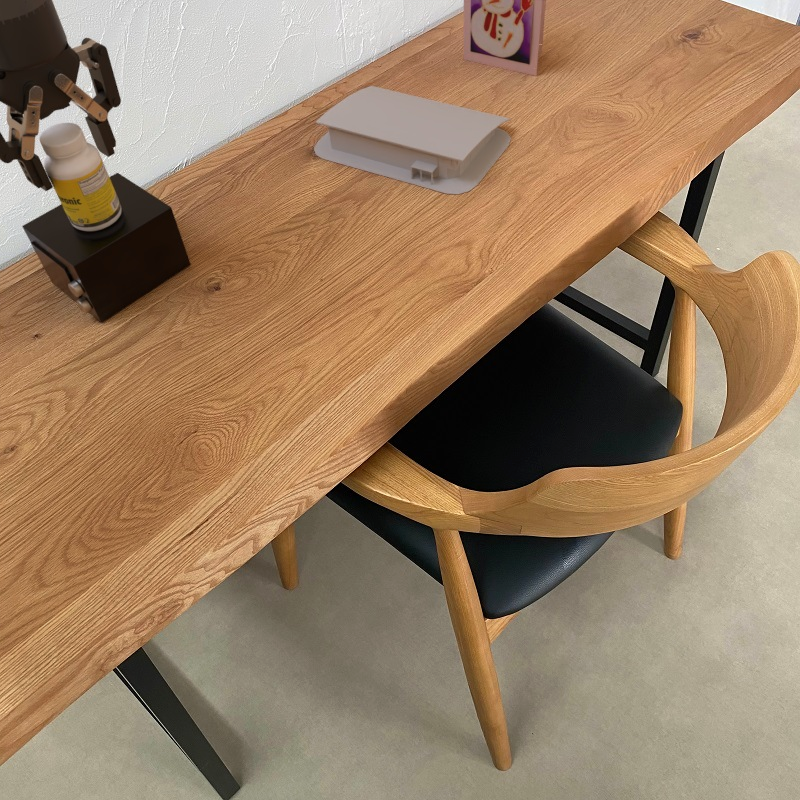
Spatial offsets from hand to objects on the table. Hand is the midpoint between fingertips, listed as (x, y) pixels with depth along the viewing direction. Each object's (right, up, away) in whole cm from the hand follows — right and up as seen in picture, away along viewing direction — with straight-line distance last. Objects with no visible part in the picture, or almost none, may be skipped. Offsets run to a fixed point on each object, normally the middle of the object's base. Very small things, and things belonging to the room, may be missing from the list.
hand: (76, 169), depth 79 cm
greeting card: (+48, +26, +36) cm, 65 cm away
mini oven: (+1, -9, +11) cm, 14 cm away
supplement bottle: (0, -4, +5) cm, 6 cm away
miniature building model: (+34, +10, +24) cm, 42 cm away
